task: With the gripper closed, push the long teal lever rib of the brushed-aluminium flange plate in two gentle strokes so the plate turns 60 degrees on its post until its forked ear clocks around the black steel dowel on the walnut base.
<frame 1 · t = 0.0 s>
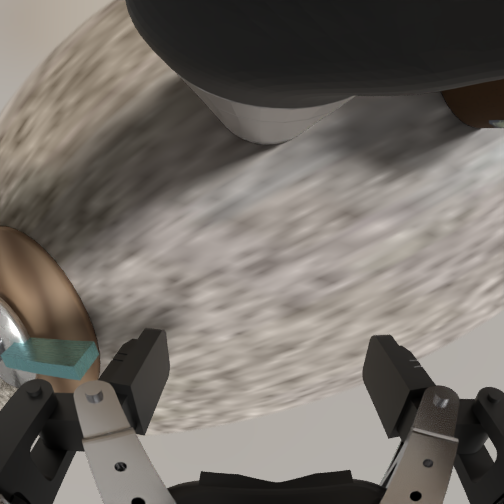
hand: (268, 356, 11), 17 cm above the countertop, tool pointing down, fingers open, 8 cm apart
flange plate: (0, 349, 25), point 7 cm above the countertop, hinge at 0.0°
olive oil: (467, 88, 22), on the countertop
base plate: (20, 324, 31), on the countertop
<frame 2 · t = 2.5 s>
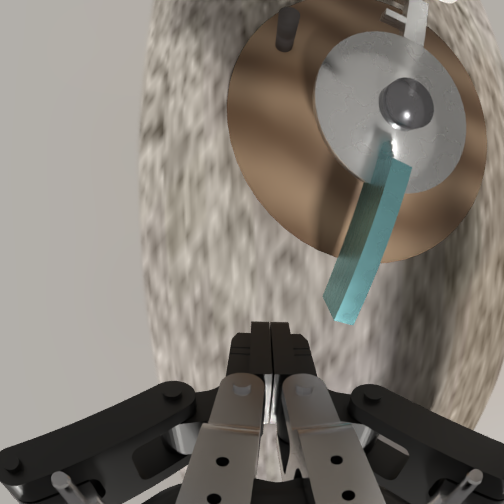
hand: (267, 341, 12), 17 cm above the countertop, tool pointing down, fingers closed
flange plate: (399, 127, 19), point 7 cm above the countertop, hinge at 0.0°
base plate: (374, 118, 25), on the countertop
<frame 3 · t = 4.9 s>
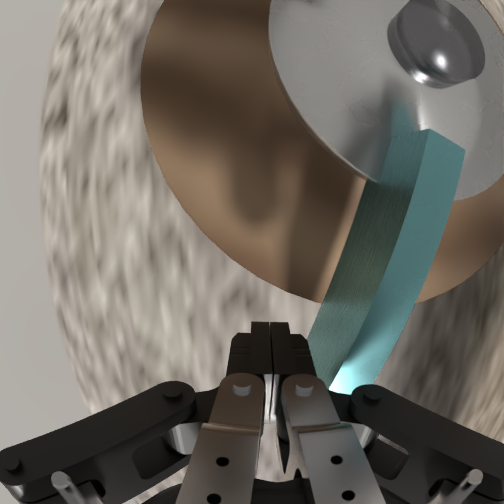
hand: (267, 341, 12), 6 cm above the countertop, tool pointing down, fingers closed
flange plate: (429, 79, 9), point 7 cm above the countertop, hinge at 0.4°, touching gripper
base plate: (380, 80, 15), on the countertop
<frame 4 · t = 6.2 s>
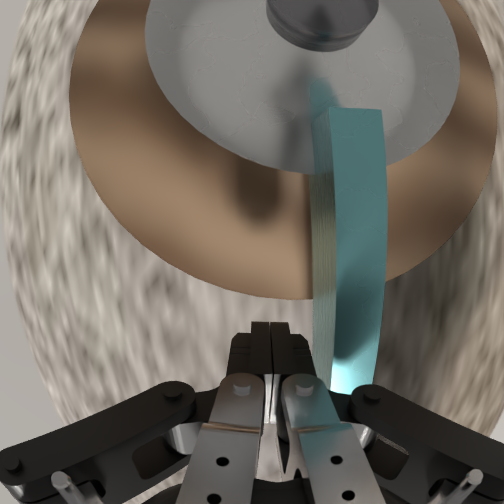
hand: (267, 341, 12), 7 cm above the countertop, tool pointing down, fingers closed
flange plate: (326, 45, 9), point 7 cm above the countertop, hinge at 21.8°, touching gripper
base plate: (298, 59, 15), on the countertop
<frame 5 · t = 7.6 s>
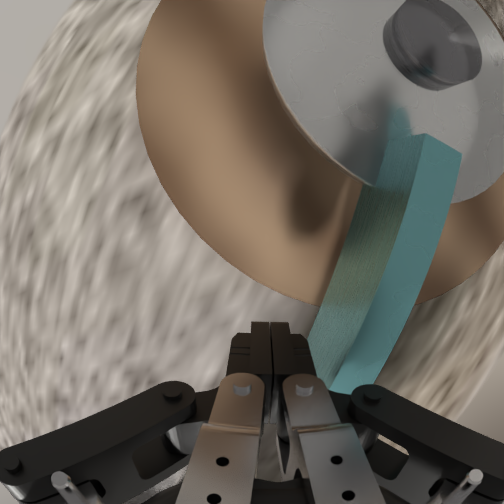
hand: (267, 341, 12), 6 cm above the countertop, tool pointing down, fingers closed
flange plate: (425, 81, 9), point 7 cm above the countertop, hinge at 31.2°, touching gripper
base plate: (376, 82, 15), on the countertop
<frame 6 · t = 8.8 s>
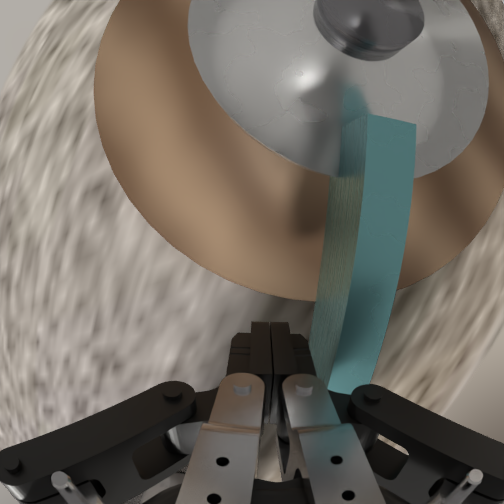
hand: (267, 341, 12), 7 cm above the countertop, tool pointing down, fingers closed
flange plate: (368, 54, 9), point 7 cm above the countertop, hinge at 43.9°, touching gripper
base plate: (331, 63, 15), on the countertop
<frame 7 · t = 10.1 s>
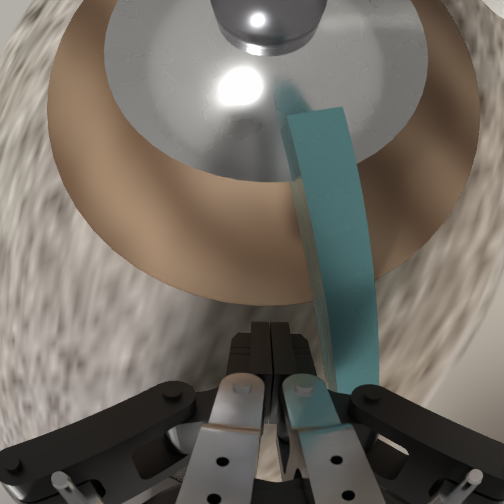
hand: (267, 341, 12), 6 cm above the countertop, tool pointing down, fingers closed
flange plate: (282, 48, 9), point 7 cm above the countertop, hinge at 60.4°, touching gripper
base plate: (265, 63, 15), on the countertop
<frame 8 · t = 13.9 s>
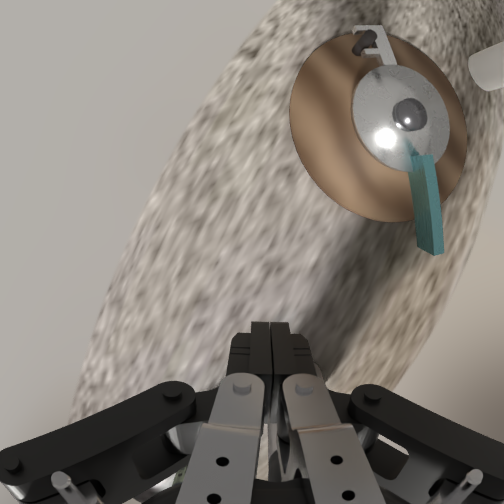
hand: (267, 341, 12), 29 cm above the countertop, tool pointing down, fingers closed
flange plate: (412, 131, 30), point 7 cm above the countertop, hinge at 60.5°
cylindrical container: (481, 72, 32), on the countertop
base plate: (387, 122, 36), on the countertop
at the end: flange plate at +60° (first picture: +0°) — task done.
